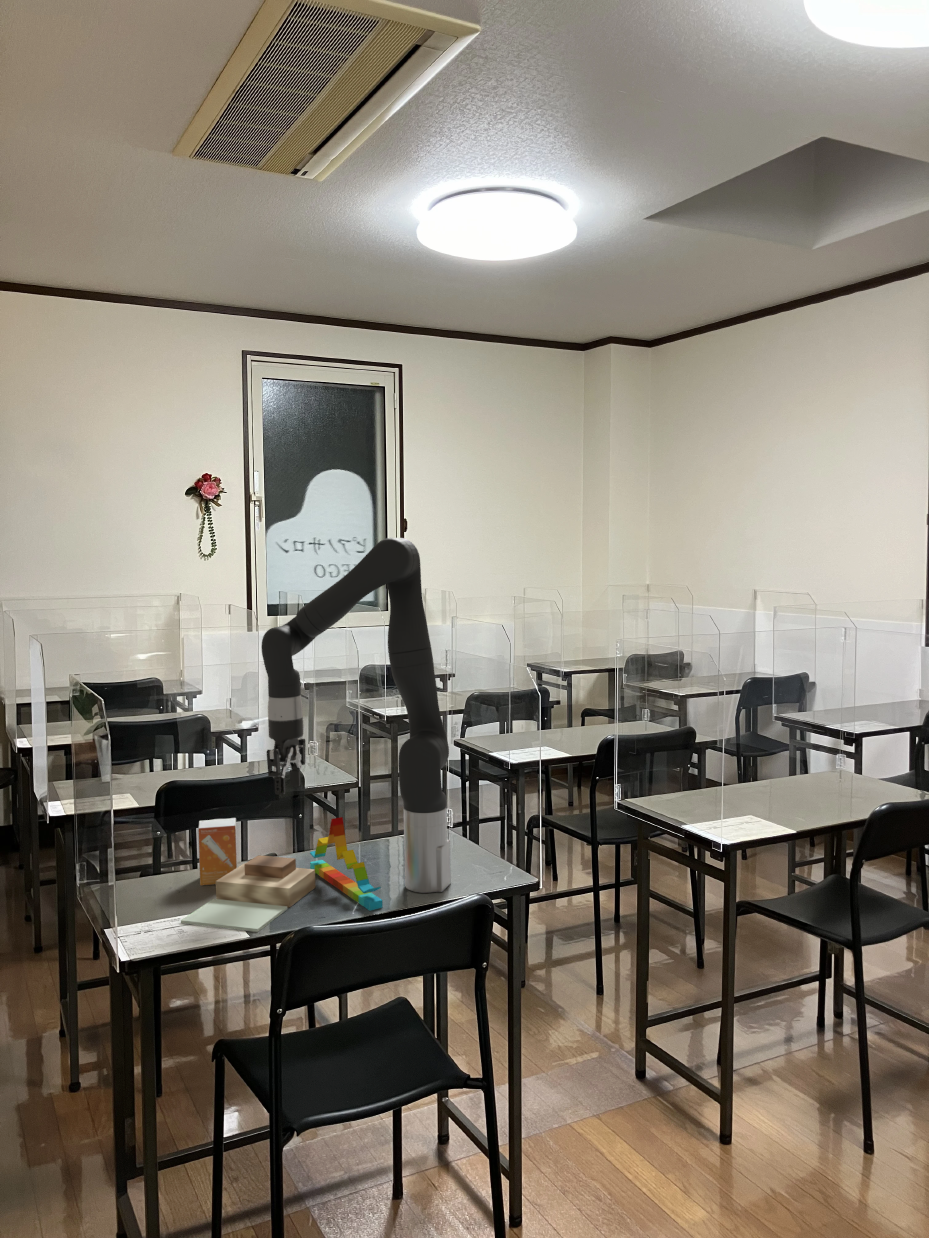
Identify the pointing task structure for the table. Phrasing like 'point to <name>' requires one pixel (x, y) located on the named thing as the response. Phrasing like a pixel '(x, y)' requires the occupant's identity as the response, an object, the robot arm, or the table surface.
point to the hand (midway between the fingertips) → (288, 790)
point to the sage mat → (234, 915)
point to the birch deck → (265, 887)
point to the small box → (217, 849)
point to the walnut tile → (270, 866)
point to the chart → (339, 880)
